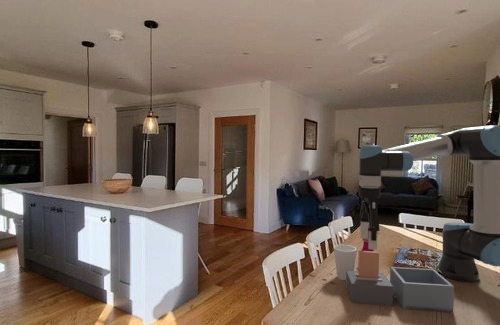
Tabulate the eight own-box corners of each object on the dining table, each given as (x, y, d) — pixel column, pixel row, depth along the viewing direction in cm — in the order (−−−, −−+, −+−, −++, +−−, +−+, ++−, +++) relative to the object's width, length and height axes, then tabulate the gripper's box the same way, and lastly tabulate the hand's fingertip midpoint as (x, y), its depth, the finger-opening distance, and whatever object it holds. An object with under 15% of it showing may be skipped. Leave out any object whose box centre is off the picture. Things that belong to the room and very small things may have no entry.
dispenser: (382, 290, 118) (383, 271, 118) (392, 305, 106) (393, 284, 106) (346, 287, 120) (346, 269, 120) (351, 302, 108) (351, 282, 108)
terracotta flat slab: (377, 290, 113) (377, 251, 113) (378, 292, 112) (379, 252, 111) (357, 289, 115) (358, 250, 114) (358, 291, 113) (359, 251, 112)
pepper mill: (377, 269, 140) (377, 226, 139) (360, 267, 141) (361, 225, 140) (374, 263, 147) (374, 222, 146) (358, 262, 148) (359, 222, 147)
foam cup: (338, 271, 137) (339, 243, 136) (359, 276, 131) (359, 247, 130) (329, 278, 129) (330, 248, 129) (351, 284, 123) (351, 253, 123)
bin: (433, 292, 117) (434, 269, 116) (453, 312, 102) (454, 286, 102) (389, 289, 119) (390, 266, 119) (403, 308, 104) (403, 283, 104)
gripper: (352, 183, 125) (351, 233, 125) (366, 190, 100) (365, 253, 101) (371, 183, 124) (370, 234, 124) (390, 191, 99) (388, 255, 100)
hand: (368, 243), depth 113 cm, fingers open, 13 cm apart
